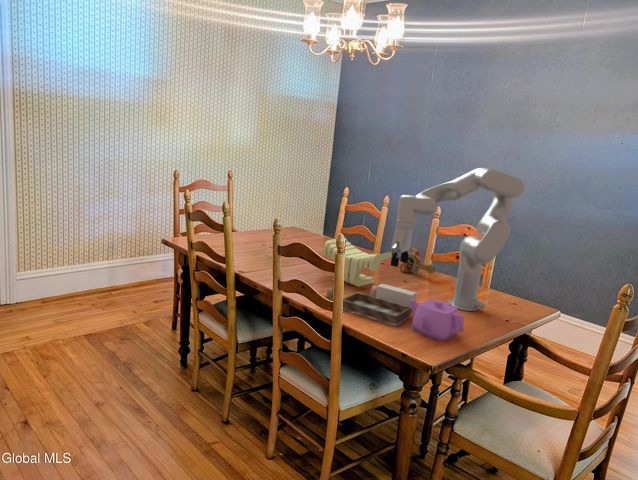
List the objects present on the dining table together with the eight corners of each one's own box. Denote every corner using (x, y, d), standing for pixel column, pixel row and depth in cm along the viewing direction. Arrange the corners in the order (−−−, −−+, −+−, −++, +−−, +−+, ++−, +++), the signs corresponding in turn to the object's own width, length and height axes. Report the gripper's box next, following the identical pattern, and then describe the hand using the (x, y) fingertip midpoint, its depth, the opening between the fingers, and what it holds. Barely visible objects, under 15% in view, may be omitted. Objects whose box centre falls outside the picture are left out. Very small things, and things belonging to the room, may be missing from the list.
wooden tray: (409, 316, 194) (411, 307, 193) (395, 326, 183) (396, 316, 182) (356, 300, 207) (357, 291, 206) (339, 308, 196) (340, 299, 195)
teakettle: (463, 343, 174) (469, 311, 171) (418, 340, 172) (423, 308, 170) (448, 324, 190) (452, 295, 188) (406, 322, 189) (410, 292, 186)
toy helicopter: (407, 269, 266) (410, 245, 263) (437, 280, 250) (441, 254, 247) (397, 270, 261) (400, 246, 258) (427, 281, 245) (431, 256, 242)
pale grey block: (414, 308, 205) (416, 292, 204) (409, 311, 201) (412, 295, 200) (374, 296, 215) (376, 281, 213) (369, 299, 211) (371, 284, 209)
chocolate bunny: (329, 301, 203) (332, 279, 201) (324, 295, 210) (326, 273, 208) (342, 301, 205) (344, 279, 202) (336, 295, 212) (339, 273, 210)
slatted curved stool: (320, 275, 238) (324, 240, 235) (341, 270, 250) (344, 237, 246) (368, 292, 219) (373, 255, 215) (388, 286, 231) (393, 251, 227)
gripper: (405, 221, 209) (399, 259, 212) (387, 225, 194) (382, 265, 198) (421, 224, 205) (415, 263, 209) (405, 228, 191) (398, 270, 194)
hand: (399, 264), depth 203 cm, fingers open, 9 cm apart
